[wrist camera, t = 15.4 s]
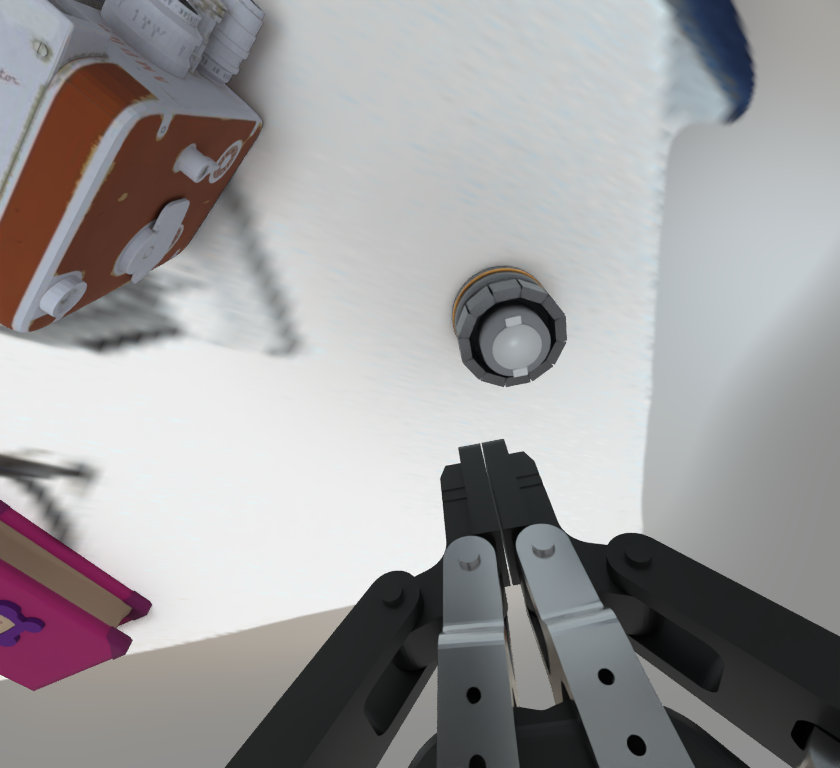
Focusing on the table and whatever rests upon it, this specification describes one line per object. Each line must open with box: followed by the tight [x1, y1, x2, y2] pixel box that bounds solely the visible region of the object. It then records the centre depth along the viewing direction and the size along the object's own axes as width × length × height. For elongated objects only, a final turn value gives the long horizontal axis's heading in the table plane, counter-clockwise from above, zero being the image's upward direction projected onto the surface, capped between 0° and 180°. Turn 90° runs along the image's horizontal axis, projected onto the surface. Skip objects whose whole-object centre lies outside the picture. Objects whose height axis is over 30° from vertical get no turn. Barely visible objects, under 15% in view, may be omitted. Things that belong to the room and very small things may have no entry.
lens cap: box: [477, 300, 551, 377], centre depth 37 cm, size 6×6×4 cm
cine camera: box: [0, 0, 265, 333], centre depth 26 cm, size 9×19×20 cm, turn 137°
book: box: [0, 500, 152, 691], centre depth 57 cm, size 21×28×8 cm
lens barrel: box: [453, 266, 567, 387], centre depth 40 cm, size 9×9×6 cm
